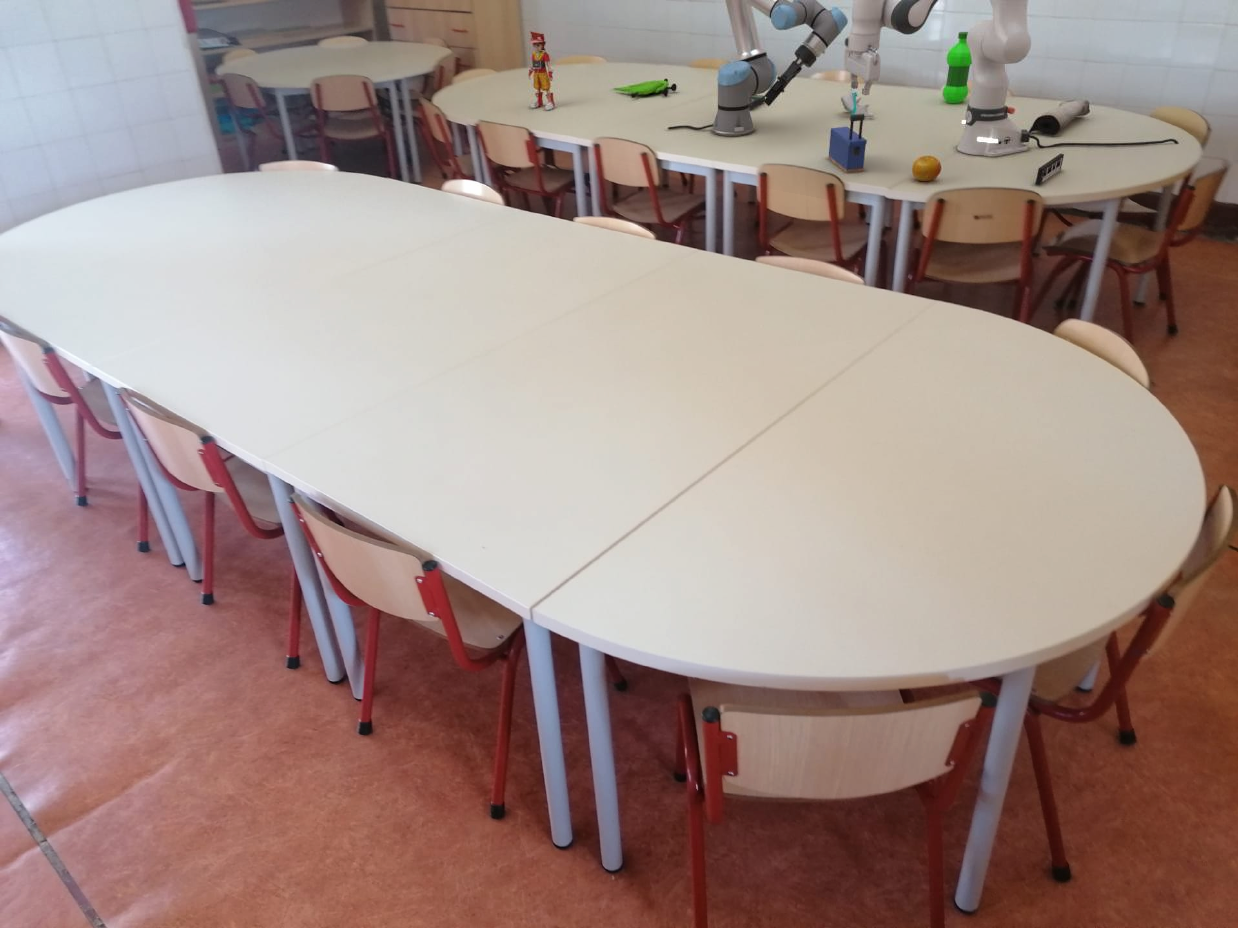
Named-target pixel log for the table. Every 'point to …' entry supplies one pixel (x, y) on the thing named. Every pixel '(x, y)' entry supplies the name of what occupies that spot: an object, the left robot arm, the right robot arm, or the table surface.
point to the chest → (846, 154)
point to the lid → (851, 131)
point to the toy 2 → (648, 88)
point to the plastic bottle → (958, 71)
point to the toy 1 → (541, 71)
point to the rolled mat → (1060, 117)
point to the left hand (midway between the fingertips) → (766, 101)
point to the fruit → (926, 168)
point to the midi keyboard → (1049, 169)
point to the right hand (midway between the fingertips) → (859, 91)
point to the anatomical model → (854, 104)
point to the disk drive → (755, 101)
